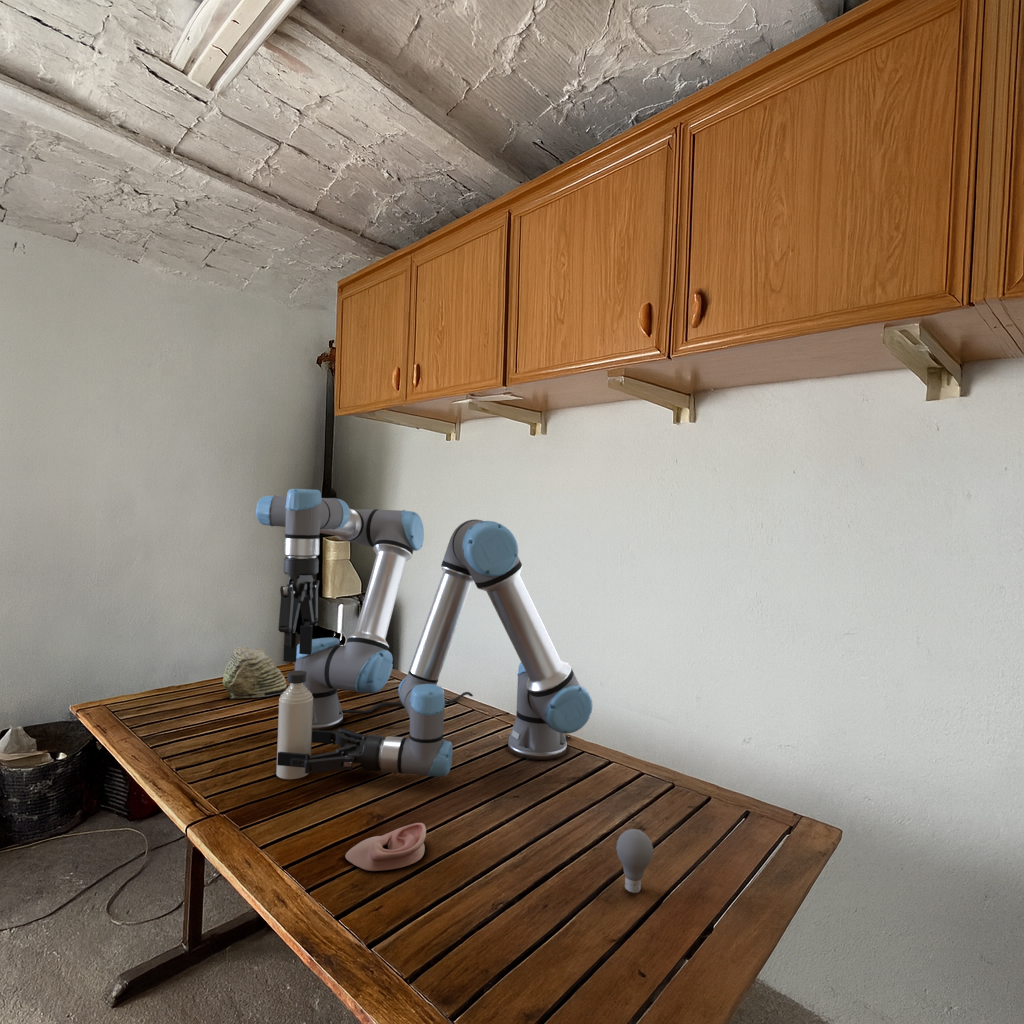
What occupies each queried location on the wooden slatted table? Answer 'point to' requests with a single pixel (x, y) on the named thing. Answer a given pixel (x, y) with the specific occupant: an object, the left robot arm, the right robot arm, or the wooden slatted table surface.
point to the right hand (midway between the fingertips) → (291, 746)
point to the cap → (297, 677)
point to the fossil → (252, 674)
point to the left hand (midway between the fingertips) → (297, 657)
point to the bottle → (294, 727)
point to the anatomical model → (390, 849)
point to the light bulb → (634, 857)
